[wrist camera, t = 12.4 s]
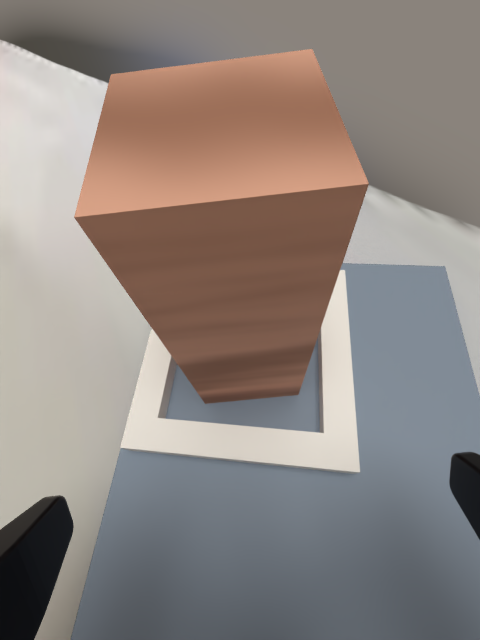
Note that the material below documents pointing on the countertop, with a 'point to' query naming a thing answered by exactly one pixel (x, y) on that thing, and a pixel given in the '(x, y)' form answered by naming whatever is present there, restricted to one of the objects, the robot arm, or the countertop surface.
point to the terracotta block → (226, 213)
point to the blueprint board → (302, 488)
